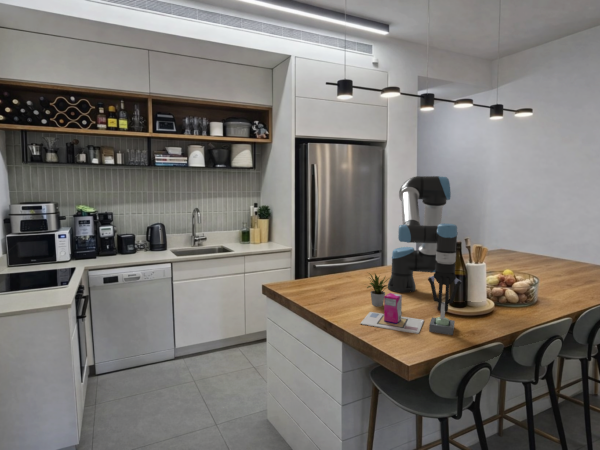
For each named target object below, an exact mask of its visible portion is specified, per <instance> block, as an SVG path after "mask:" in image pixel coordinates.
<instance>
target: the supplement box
mask: <svg viewBox="0 0 600 450" xmlns="http://www.w3.org/2000/svg"><path fill="white" fill-rule="evenodd" d="M402 297H403V296H402V294H398V293H391V292H389V293H387V294H385V296H384V302H383V305H384V306H383V307H384V308H383V310H384V311H383V312H384V313H383V314H384V322H389V323H393V324H397V323H399V322H400V321H401V316H402V305H403V304H402V303H403V302H402V300H403V298H402Z"/></svg>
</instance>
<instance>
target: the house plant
mask: <svg viewBox="0 0 600 450" xmlns="http://www.w3.org/2000/svg"><path fill="white" fill-rule="evenodd" d="M367 273H368V275H370V277H369V276H367V275H366V278H369V280H370V283H369V285H367V284H364V285H366V286H367V287H366V289H369V288H370V289H372V290H371V291H370V298H371V305H372V306H374V307H382V306H383V305H384V296H386V292H385V291H384V290H386V289H388V288H390V287H388V284H387V285H385V283H386V282H387V281H389V280H390V277H391V276H390V277H388V278H387V279H386V275H385V276H384V277H383V279H382V280H380V277H381V275H380V274H379V276H378V275H377V274H376V273H375V272H374V273H373V274H374V277H373V275H372V274H371V273H370V272H367ZM391 278H392V277H391ZM385 279H386V280H385ZM384 280H385V281H384ZM383 307H384V306H383Z"/></svg>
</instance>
